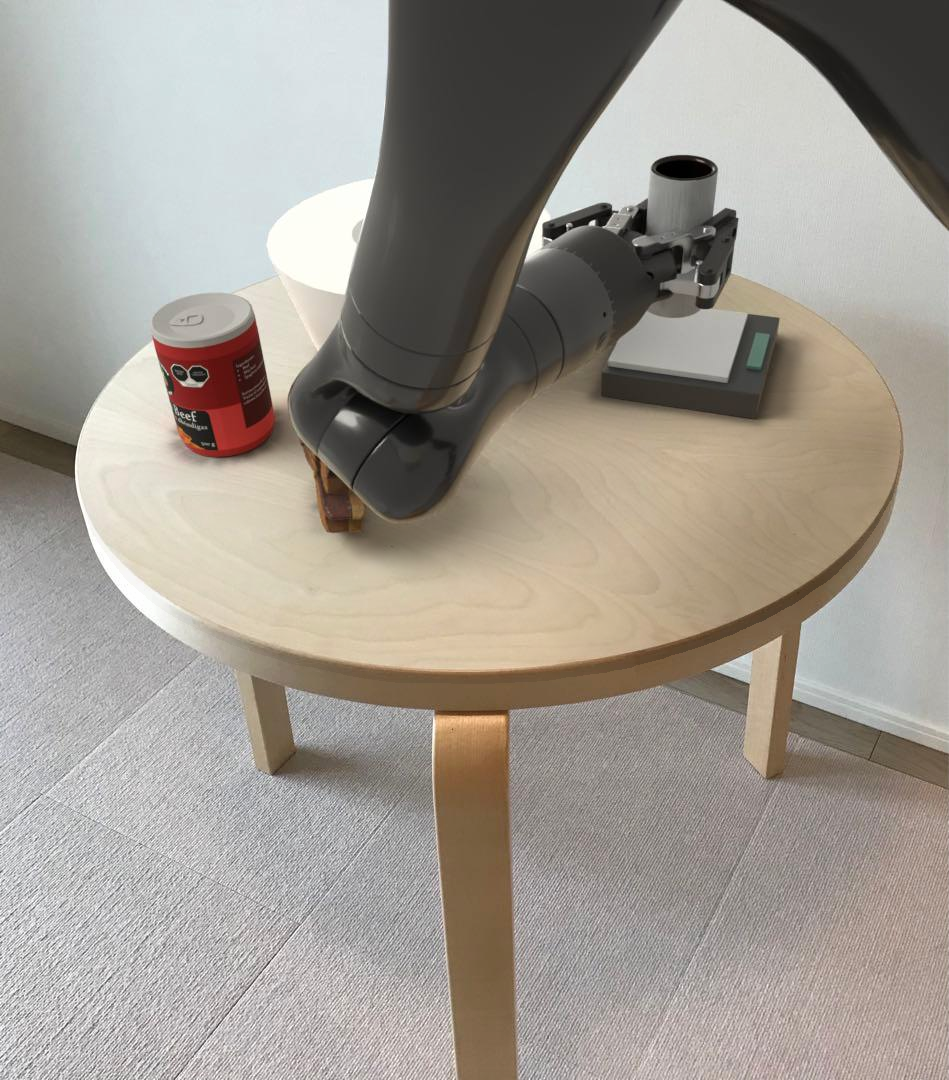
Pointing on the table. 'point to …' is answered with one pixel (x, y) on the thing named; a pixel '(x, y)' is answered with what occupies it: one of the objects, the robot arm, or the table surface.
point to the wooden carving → (335, 498)
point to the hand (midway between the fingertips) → (697, 213)
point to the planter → (679, 211)
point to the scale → (694, 362)
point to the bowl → (328, 252)
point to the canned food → (214, 373)
